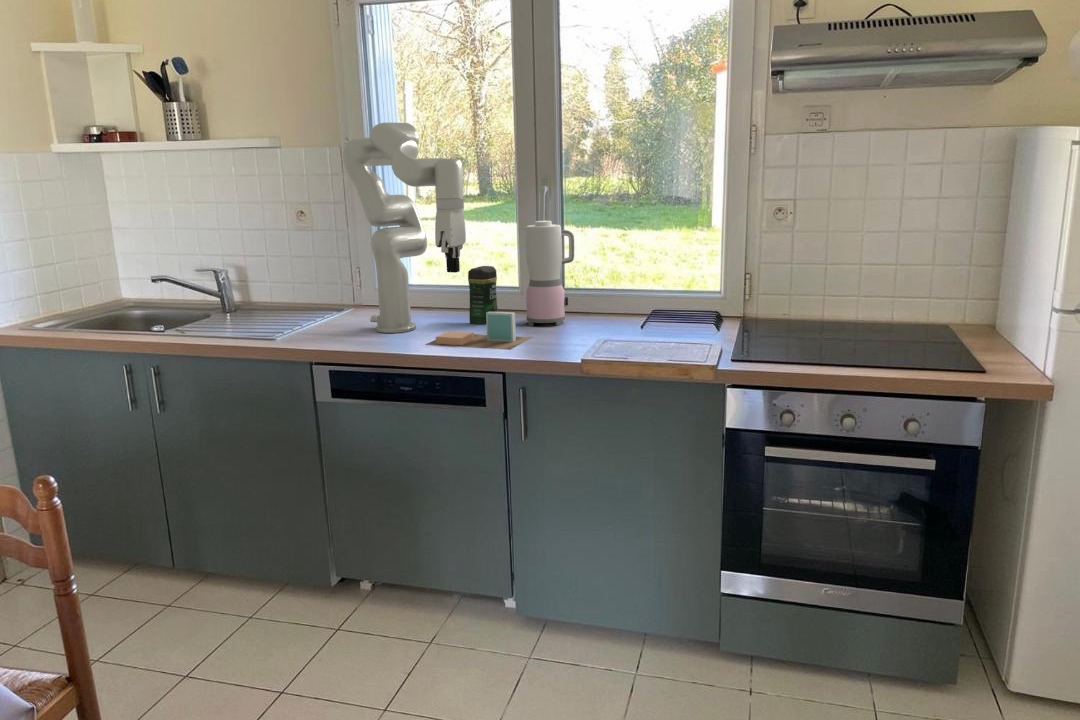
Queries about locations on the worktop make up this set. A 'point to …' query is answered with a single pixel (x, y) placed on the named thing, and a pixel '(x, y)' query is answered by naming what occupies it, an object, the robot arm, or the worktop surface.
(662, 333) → the worktop surface
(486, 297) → the coffee jar
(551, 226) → the blender
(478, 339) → the walnut board
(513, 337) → the grey-blue tile
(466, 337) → the terracotta tile
